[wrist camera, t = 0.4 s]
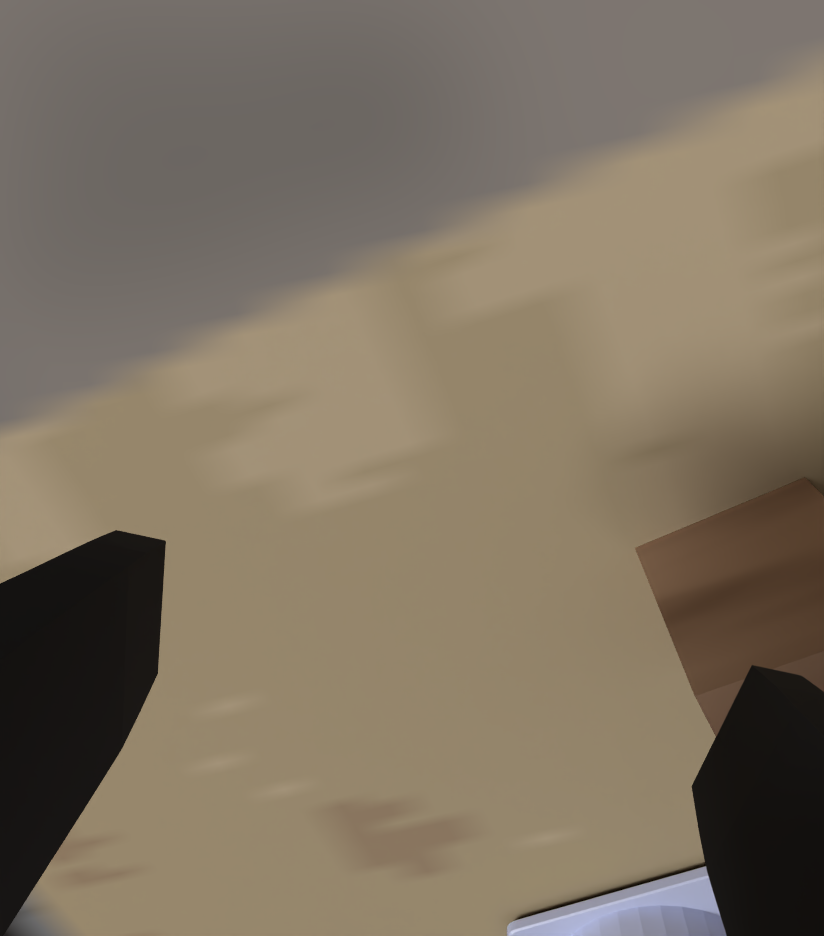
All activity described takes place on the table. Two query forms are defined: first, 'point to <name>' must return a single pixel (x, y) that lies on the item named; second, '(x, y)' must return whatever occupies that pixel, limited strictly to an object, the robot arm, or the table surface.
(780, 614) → the walnut block
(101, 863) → the table surface
